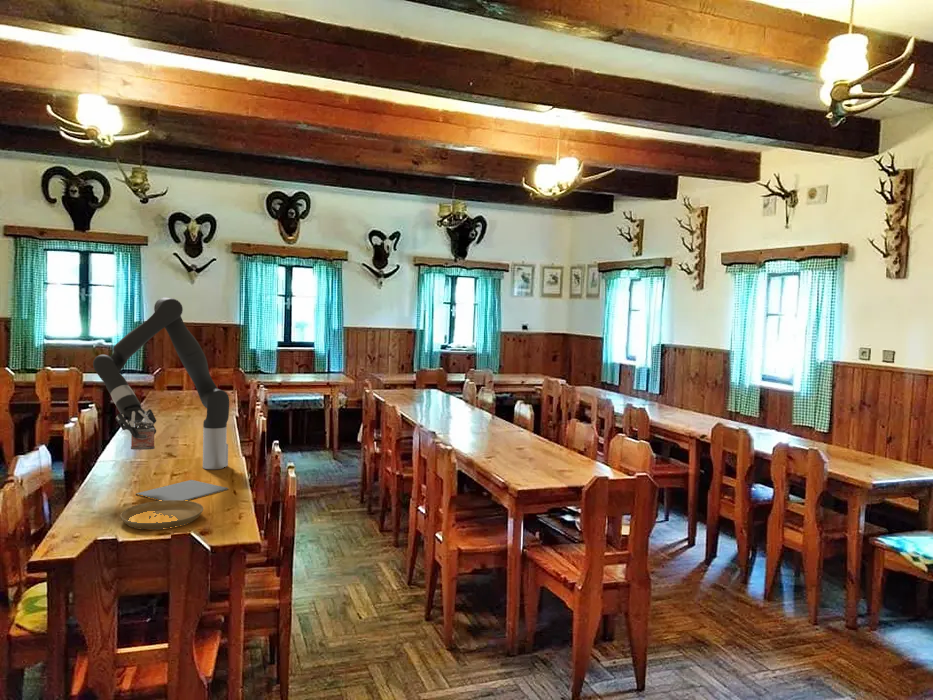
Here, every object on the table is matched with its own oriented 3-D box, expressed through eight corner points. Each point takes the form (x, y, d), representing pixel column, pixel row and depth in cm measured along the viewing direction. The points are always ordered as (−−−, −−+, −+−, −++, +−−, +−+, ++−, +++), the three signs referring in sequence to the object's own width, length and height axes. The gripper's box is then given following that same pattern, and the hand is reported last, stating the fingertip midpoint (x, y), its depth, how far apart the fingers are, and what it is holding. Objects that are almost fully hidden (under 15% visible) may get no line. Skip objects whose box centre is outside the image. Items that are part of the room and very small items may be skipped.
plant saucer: (113, 535, 204) (113, 524, 204) (128, 511, 227) (128, 501, 227) (199, 530, 211) (199, 520, 211) (206, 508, 234) (206, 498, 234)
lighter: (129, 449, 251) (130, 422, 250) (131, 447, 254) (132, 421, 254) (153, 449, 253) (154, 422, 252) (155, 447, 257) (155, 421, 256)
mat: (191, 481, 266) (191, 479, 266) (228, 489, 257) (228, 487, 257) (135, 495, 245) (135, 493, 245) (173, 504, 236) (173, 502, 236)
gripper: (112, 395, 249) (133, 432, 245) (147, 391, 262) (167, 426, 257) (102, 408, 252) (123, 444, 248) (137, 403, 265) (158, 438, 260)
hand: (145, 435), depth 253 cm, fingers closed on lighter, 6 cm apart
